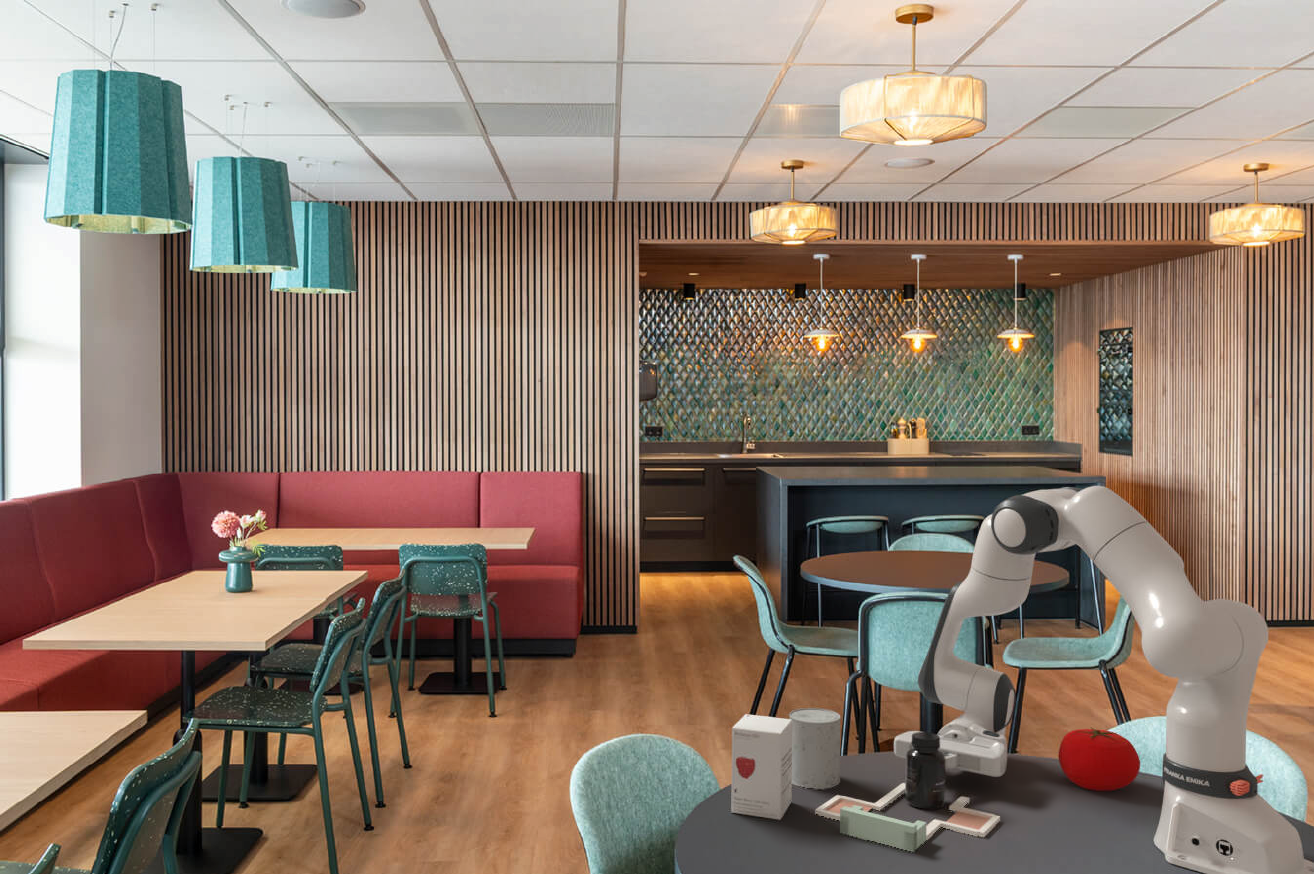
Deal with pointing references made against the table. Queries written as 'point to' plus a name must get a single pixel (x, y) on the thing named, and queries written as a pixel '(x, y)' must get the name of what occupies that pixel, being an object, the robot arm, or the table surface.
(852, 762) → the table surface
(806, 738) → the speckled concrete cylinder
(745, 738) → the supplement box
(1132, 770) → the tomato
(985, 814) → the trap lane
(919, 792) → the supplement bottle
